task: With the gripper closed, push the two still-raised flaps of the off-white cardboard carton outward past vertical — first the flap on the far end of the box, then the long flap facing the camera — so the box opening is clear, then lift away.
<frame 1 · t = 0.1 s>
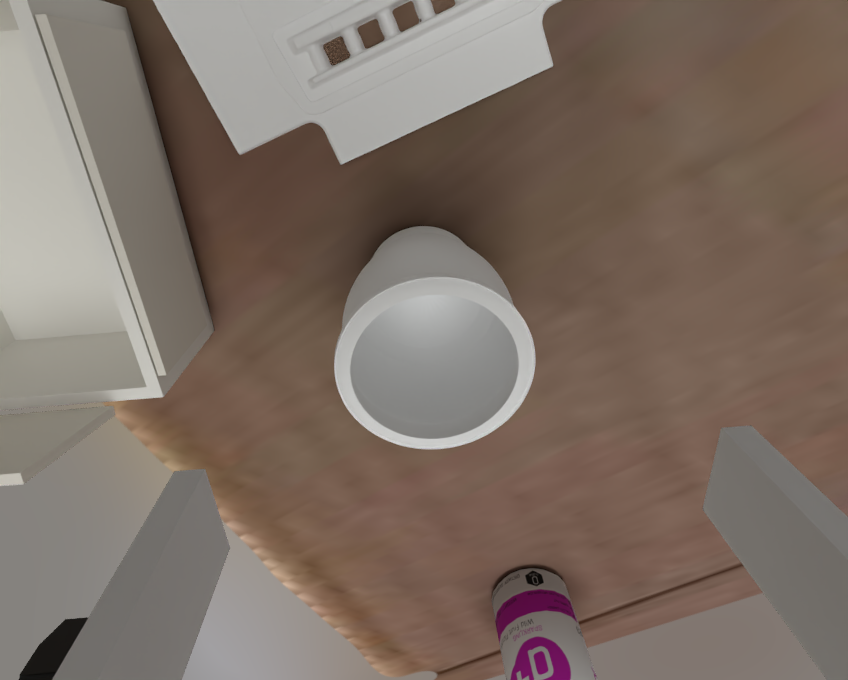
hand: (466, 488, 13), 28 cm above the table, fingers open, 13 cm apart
jar: (422, 276, 40), on the table
carton: (63, 199, 36), on the table
supplement can: (527, 588, 57), on the table
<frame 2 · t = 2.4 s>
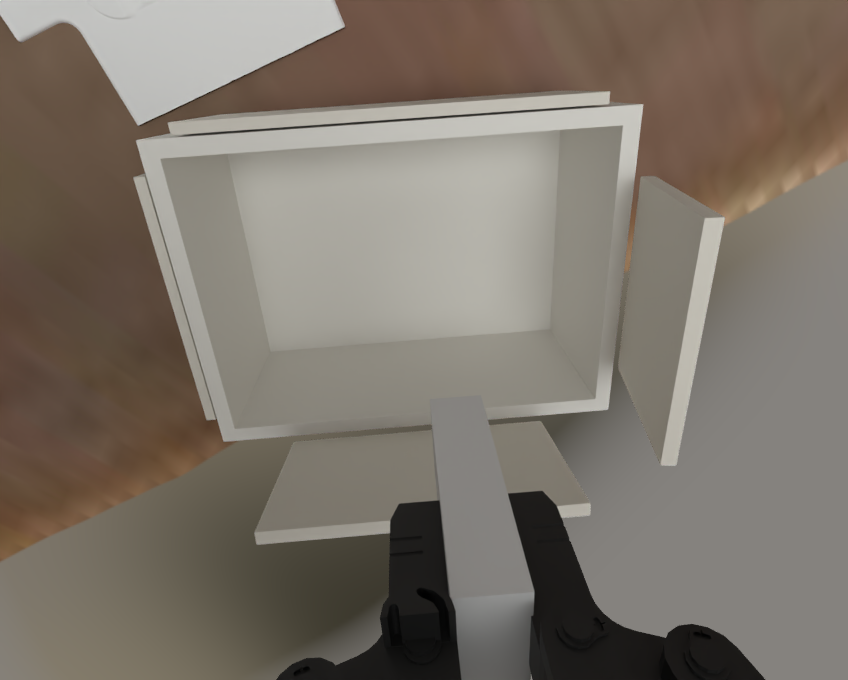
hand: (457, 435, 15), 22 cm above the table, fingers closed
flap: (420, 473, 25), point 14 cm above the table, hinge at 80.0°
end flap: (657, 312, 22), point 14 cm above the table, hinge at 80.0°
carton: (403, 241, 35), on the table
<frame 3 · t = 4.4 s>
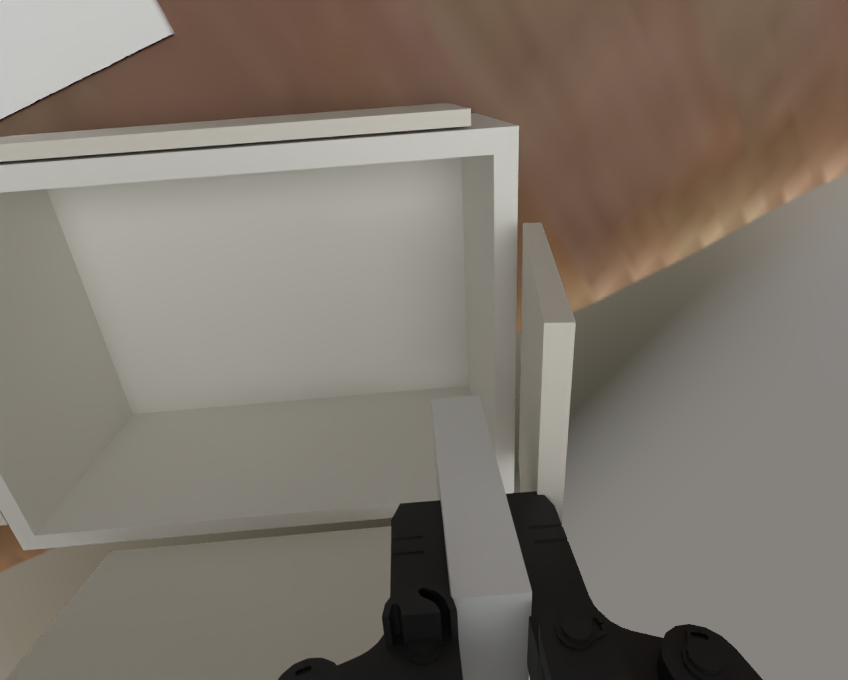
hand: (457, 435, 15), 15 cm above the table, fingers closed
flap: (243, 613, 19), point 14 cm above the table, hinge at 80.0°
end flap: (536, 416, 16), point 14 cm above the table, hinge at 80.2°, touching gripper
carton: (280, 284, 29), on the table
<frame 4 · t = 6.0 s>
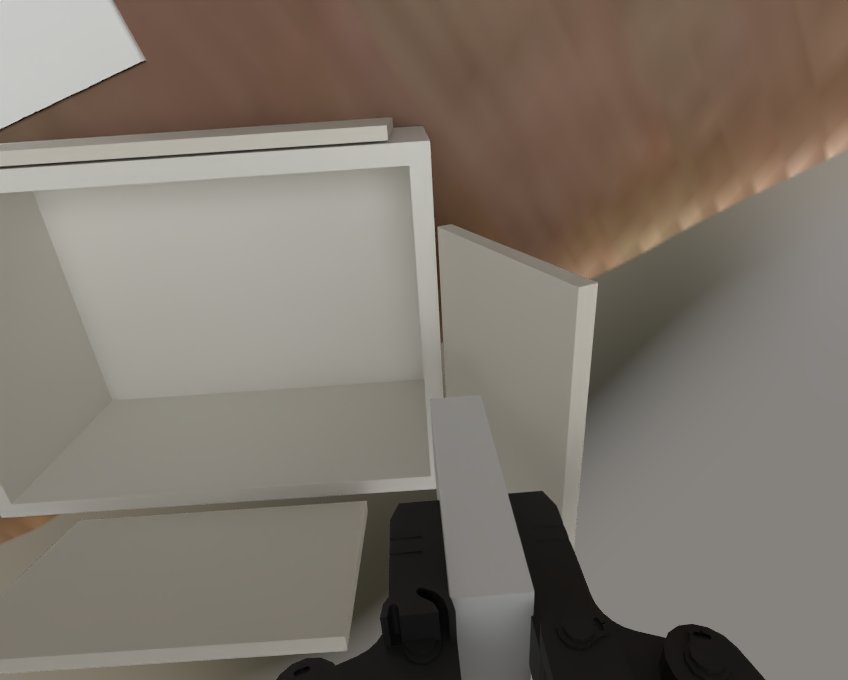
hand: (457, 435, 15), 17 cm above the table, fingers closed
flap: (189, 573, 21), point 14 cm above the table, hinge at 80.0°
end flap: (500, 386, 18), point 14 cm above the table, hinge at 112.8°
carton: (248, 281, 31), on the table
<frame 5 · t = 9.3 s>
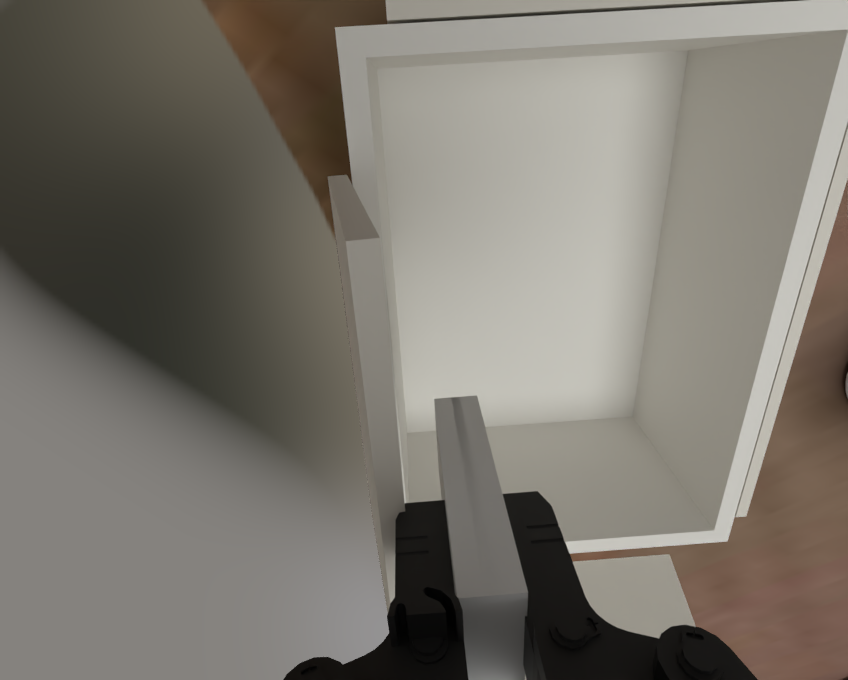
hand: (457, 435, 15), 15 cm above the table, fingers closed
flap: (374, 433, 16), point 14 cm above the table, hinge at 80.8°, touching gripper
end flap: (586, 662, 22), point 14 cm above the table, hinge at 113.1°
carton: (523, 267, 29), on the table
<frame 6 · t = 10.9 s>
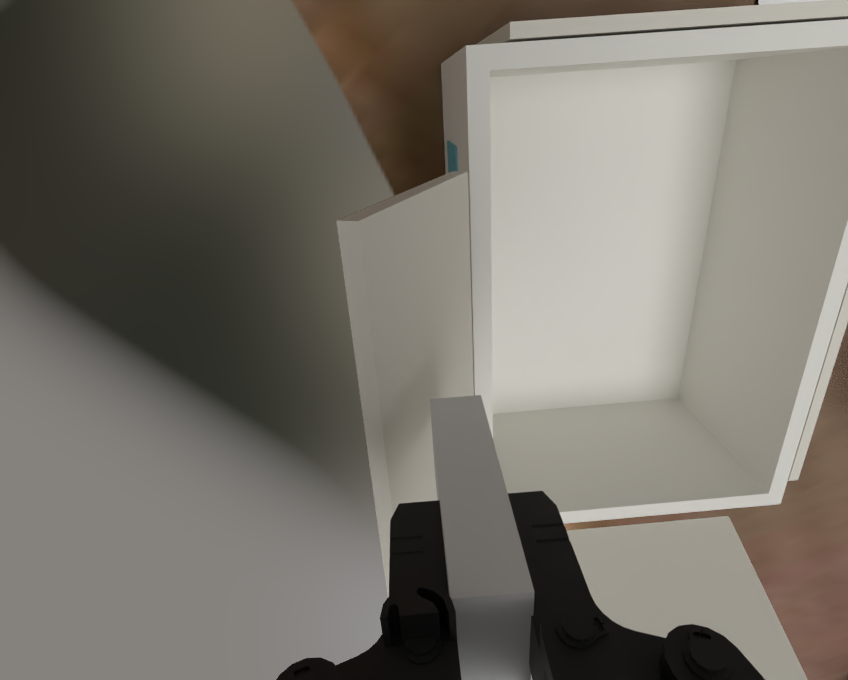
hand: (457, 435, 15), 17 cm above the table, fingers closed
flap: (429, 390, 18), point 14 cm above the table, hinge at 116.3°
end flap: (661, 610, 24), point 14 cm above the table, hinge at 113.1°
carton: (581, 259, 31), on the table
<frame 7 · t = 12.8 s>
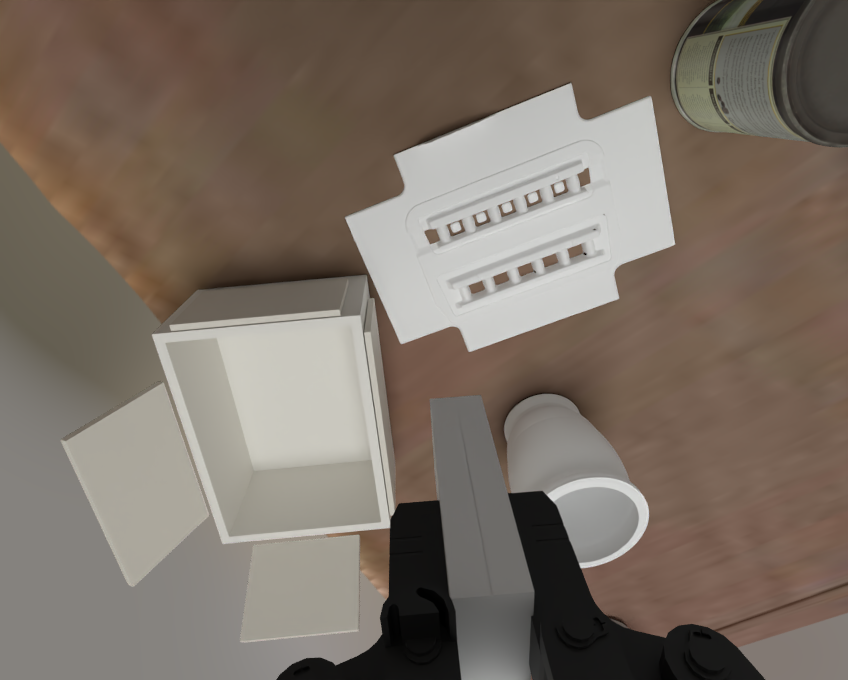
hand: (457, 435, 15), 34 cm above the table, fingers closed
coffee can: (728, 66, 43), on the table
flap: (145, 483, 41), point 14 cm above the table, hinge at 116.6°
end flap: (303, 585, 46), point 14 cm above the table, hinge at 113.1°
jar: (541, 423, 57), on the table
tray: (512, 229, 48), on the table
carton: (303, 383, 53), on the table
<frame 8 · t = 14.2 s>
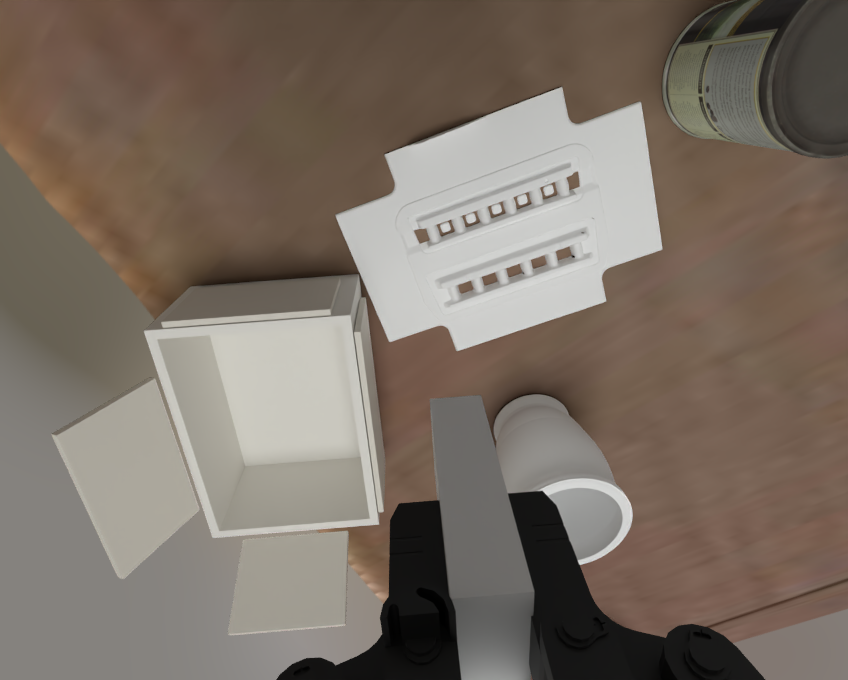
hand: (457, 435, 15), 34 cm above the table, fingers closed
coffee can: (720, 73, 43), on the table
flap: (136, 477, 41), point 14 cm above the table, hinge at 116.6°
end flap: (291, 580, 47), point 14 cm above the table, hinge at 113.1°
jar: (530, 423, 58), on the table
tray: (501, 230, 49), on the table
carton: (295, 380, 54), on the table
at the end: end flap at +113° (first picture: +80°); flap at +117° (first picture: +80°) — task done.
